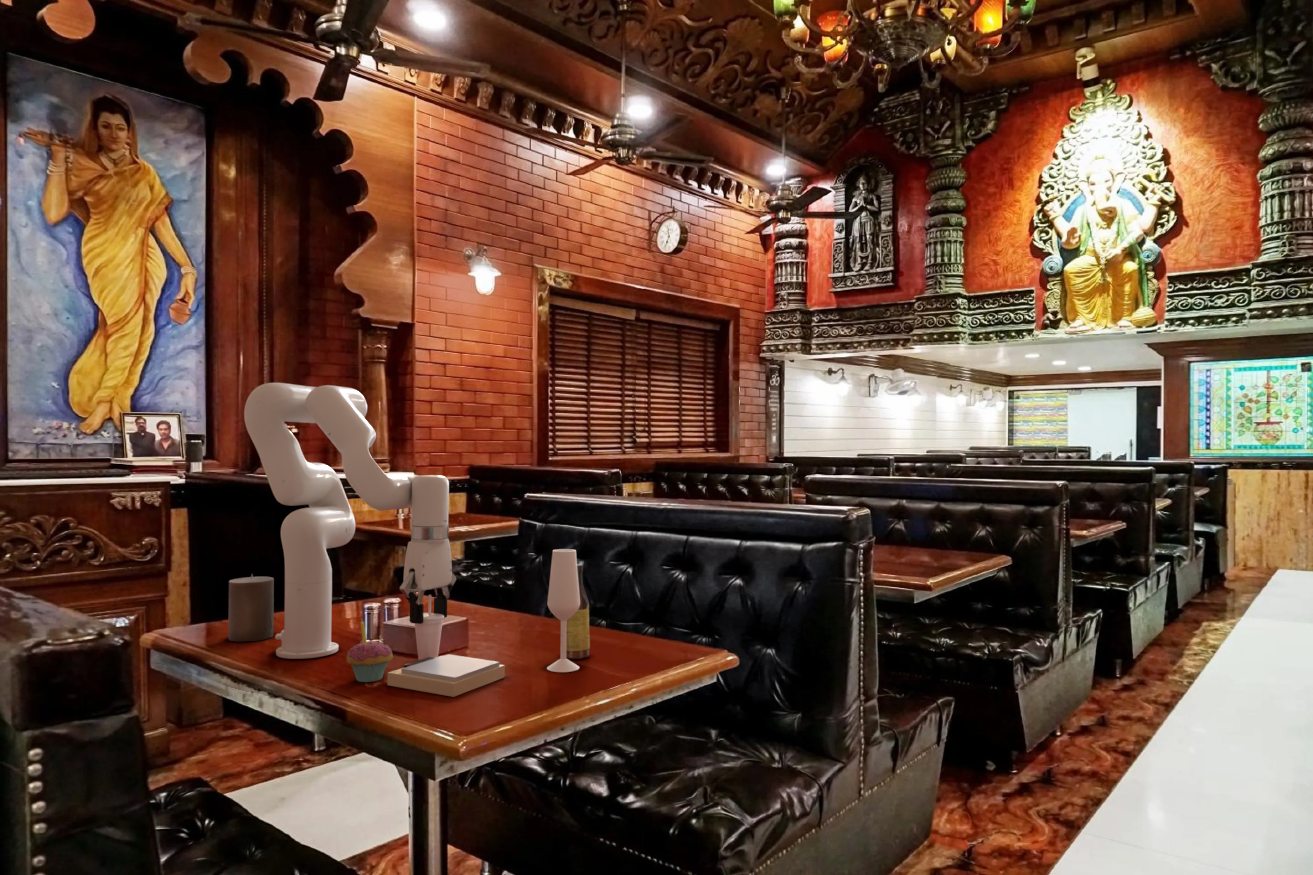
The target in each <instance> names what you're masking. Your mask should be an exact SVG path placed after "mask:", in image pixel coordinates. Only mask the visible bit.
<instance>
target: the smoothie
mask: <svg viewBox="0 0 1313 875" xmlns="http://www.w3.org/2000/svg"><path fill="white" fill-rule="evenodd" d="M427 606H428V608H427V609H428V611H427V612H428V613H423V623H422V624H417V623H413V624H414V631H415V632H414V633H415V640H416V650H417V651H416V652H417V659H418V660H421V659H424V658H428V657H432V658H436V657H439V652H440V644H441V637H442V630H443V629H442V628H443V623H444V621H445V618H444V615H442V614H434V612H433V613H432V594H428V605H427ZM418 660H417V661H418Z"/></svg>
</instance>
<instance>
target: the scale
mask: <svg viewBox="0 0 1313 875" xmlns="http://www.w3.org/2000/svg"><path fill="white" fill-rule="evenodd" d="M505 677H506V665H505V664H501V663H500V661H495V660H490V659H483V658H476V657H470V656H462V655H456V654H449V653H448V654H445V655H440V656H439V655H438V657H436V658H432V657H428V658H424V659H421V660H414V661H412V662H408V663H406V664H403V667H401V668H398V669H395V670H391V671H388V672H387V684H386V686H390V687H396V688H401V689H406V690H412V691H417V692H423V693H428V694H436V695H441V696H446V697H451V698H454V697H457V696H461V695H462V694H465V693H468V692H471V691H473V690H475V689H478V688H480V687H483V686H486V685H488V684H491V683H493V682H497V681H499V680H501V679H504V678H505Z"/></svg>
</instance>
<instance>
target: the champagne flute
mask: <svg viewBox="0 0 1313 875" xmlns="http://www.w3.org/2000/svg"><path fill="white" fill-rule="evenodd" d="M550 563H551V564H550V574H549V585H548V592H547V593H548V594H547V603H546V604H547V607H548V610H549V611H550V613H551V614H553V616H554V617H555V618H556V619H557V620H559V621H560V620H561V624H560V656H559V659H557V660H556V661H555V662H552V663H551V664H550V665H548V666H547V667H546V670H547V671H550V672H555V673H569V672H575V671H578V670H579V669H580V666H579V665H577V664H576V663H575V662H573V661H571V660H570V659H566V623H567V620H568V619H569V618H571V617H572V616H573V615H574V614H575V613H576V611H577V610H578V608H579V606H580V595H579V583H578V571H577V564H578V560H577V550H576V549H573V548H572V549H570V548H559V549H553V550H552V554H551V562H550Z"/></svg>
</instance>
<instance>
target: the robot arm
mask: <svg viewBox="0 0 1313 875" xmlns="http://www.w3.org/2000/svg"><path fill="white" fill-rule="evenodd" d="M367 414H368V403H367V400H366V398H365V397H364V395H363V394H362V393H361V392H360V391H359V390H357V389H355V388H352V387H348V386H347V387H346V386H339V385H330V384H326V385H325V384H324V385H319V386H310V385H301V384H294V383H293V384H292V383H285V382H268V383H263V384H260V385H258V386H256V388H254V389H253V390H252V391H251V392H250V394H249V395H248V396H247V400H246V402H245V405H244V410H243V418H244V419H243V420H244V423H245V428H246V431H247V433H248V435H249V436H250V439H251V442H252V443H253V445H254V448H255V449H256V452H257V454H258V456H259V458H260V462H261V465H262V467H263V471H264V474H265V476H266V478H267V481H268V484H269V486H270V489H271V492H272V494H273V496H274V498H275V499H276V501H277V502H278V503H280V504H281V505H284V506H290V507H291V506H293V507H295V506H307V505H308V507H304V508H303V507H302V508H299V509H296V510H294V511H291V512H290V513H289V514H288V515H287V516H286V517H285V518H284V519H283V521H282V524H281V527H280V541H281V545H282V550H283V558H284V615H283V616H284V618H283V619H284V621H283V629H282V630H281V631H280V633H276V634H275V636H274V638H275V640H276V641H281V646H279V647H277V648H276V649H275V655H276V657H278V658H282V659H287V660H288V659H289V660H305V659H307V660H308V659H315V658H321V657H327V656H330V655H333V654H336V653H337V652H338V651H339V644H338V643H336V642H333V641H332V610H333V608H332V602H333V568H332V563H331V559H330V556H329V555H328V552H327V549H333V548H338V547H342V546H344V545H347V544H348V543H350V541H351V540H352V539H353V537H354V535H355V534H356V533H355V532H356V520H355V516H354V512H353V510H352V507H351V505H350V502H349V500H348V497H347V495H346V492H345V489H344V487H343V484H342V481H341V479H340V477H339V475H338V474H337V473H336V471H335V470H334V469H333V468H332V467H330V466H329V465H327V464H326V463H322V462H309V461H307V459H306V458H305V455H304V453H303V450H302V449H301V444H300V443H299V441H298V439H297V438H296V436H295V435H294V434H293V432H292V431H291V430H290V429H289V428H288V427H287V425H286V423H287V422H288V423H303V424H307V423H308V424H316V425H317V426H318V427H319V428H320V430H321V431H322V432H323V434H325V436H326V437H327V438H328V440H329V441H330V442H331V443H332V444H333V445H334V447H335V448H336V450H337V451H338V452H339V453H340V455H341V463H342V469H343V472H344V473H343V474H344V476H345V478H346V480H347V482H348V484H349V485H350V487H351V488H352V489H353V490H354V492H355V493H356V494H357V496H358V497H359V498H360V499H361V500H362V501H363V502H364V503H365V504H366V505H367V506H369V507H370V508H371V509H374V510H376V511H380V512H381V511H382V512H383V511H393V510H404V509H411V519H410V520H411V521H410V524H411V528H410V539H411V540H410V541H408V542H407V545H406V546H407V547H406V551H405V558H404V565H403V566H404V567H403V582H402V583H401V585H400V586H399V590H400V592H401V593H402V594H403V597H404V598H405V599H406V600H407V601H406V602H407V603H408V604H409V623H410V624H414V623H417V624H422V623H423V614H425V613H424V610H425V609H424V603H422V601H423V598H424V595H425V592H426V591H428V590H434V594H435V597H433V614H442V615H444V619H445V618H447V617H448V599H449V598H450V596H451V594H450V593H451V591H452V590H453V586H454V585H455V583H456V581H457V577H456V576H455V574H454V573H453V571H452V569H453V565H452V563H453V562H452V550H451V543H450V539H449V532H450V529H449V513H450V512H449V510H450V509H449V506H450V481H449V479H448V478H447V477H446V475H445V476H444V475H440V474H439V475H438V474H426V475H425V474H423V475H422V474H421V475H418V474H412V473H385V471H384V470H383V469H382V468H381V467H380V466H379V465H378V463H377V462H376V460H375V459H374V458H373V457H372V454H371V453H370V448H371V447H372V446H373V444H374V443H375V441H376V440H377V433H376V430H375V428H373V426H372V425H371V424H370V423H369V421H368V420H367V419H366V416H367ZM285 422H286V423H285Z"/></svg>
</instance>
